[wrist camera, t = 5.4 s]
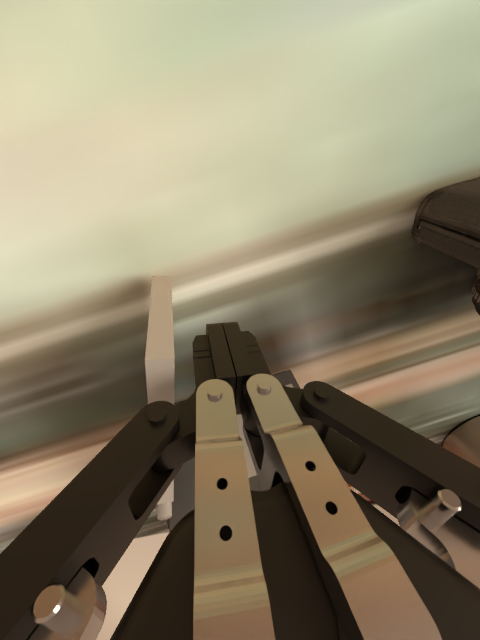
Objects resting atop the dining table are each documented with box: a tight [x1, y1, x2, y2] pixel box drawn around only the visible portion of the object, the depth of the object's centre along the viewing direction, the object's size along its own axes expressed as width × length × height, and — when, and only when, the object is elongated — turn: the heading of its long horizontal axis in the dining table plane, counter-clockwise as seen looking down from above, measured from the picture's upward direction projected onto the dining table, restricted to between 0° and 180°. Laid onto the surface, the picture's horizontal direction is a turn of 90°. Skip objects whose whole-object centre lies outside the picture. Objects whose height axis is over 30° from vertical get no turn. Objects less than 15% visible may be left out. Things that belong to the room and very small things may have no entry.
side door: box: [145, 276, 174, 520], centre depth 15 cm, size 1×12×8 cm, turn 173°
